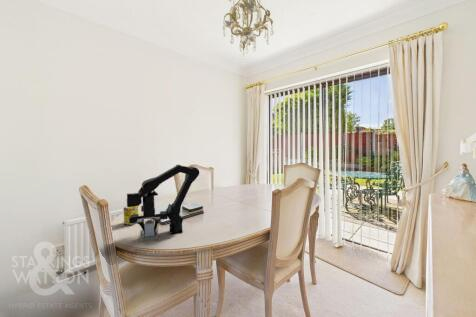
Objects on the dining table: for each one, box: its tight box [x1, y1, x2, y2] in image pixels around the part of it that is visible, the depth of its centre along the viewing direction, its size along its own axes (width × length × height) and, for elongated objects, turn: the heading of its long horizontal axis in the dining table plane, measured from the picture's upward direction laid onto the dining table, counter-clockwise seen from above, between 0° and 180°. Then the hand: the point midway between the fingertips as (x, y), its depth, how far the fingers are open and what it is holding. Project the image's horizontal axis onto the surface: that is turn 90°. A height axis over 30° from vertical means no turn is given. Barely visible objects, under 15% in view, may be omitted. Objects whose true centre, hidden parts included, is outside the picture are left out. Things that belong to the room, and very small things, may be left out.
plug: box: [144, 219, 155, 238], centre depth 113 cm, size 4×4×8 cm
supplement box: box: [123, 206, 139, 227], centre depth 130 cm, size 6×6×11 cm
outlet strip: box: [139, 224, 159, 242], centre depth 117 cm, size 9×15×2 cm, turn 19°
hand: (149, 232), depth 113 cm, fingers closed on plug, 4 cm apart
